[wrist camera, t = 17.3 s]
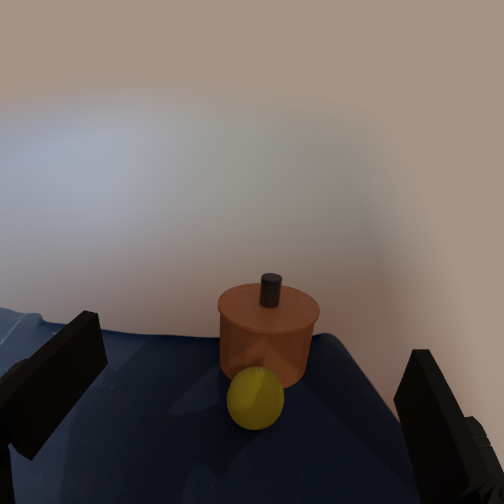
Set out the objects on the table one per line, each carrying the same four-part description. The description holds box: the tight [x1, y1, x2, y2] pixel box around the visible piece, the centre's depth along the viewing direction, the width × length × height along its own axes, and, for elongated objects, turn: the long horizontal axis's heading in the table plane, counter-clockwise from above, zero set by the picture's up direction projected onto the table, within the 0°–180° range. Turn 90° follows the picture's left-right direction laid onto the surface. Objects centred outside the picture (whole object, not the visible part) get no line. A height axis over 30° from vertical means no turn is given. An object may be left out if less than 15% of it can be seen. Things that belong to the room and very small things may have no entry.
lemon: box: [227, 367, 284, 430], centre depth 28 cm, size 6×6×8 cm
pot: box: [220, 314, 314, 389], centre depth 39 cm, size 11×11×8 cm
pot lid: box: [218, 273, 320, 335], centre depth 37 cm, size 12×12×5 cm
